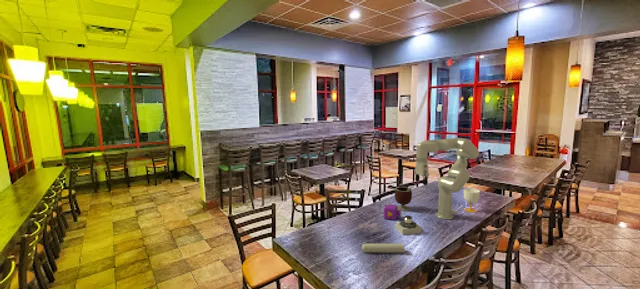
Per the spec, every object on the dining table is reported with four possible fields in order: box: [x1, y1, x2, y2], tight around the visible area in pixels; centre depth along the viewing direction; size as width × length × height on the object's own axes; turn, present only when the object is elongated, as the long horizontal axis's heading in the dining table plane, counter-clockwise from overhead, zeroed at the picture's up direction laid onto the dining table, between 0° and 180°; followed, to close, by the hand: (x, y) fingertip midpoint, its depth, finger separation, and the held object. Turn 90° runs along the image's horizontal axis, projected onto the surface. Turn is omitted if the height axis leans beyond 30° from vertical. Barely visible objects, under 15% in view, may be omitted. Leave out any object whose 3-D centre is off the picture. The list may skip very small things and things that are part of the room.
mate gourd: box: [394, 186, 415, 212], centre depth 231 cm, size 16×14×20 cm
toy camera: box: [383, 203, 403, 221], centre depth 213 cm, size 11×14×10 cm
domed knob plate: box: [395, 220, 422, 236], centre depth 191 cm, size 14×10×6 cm
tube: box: [361, 242, 406, 254], centre depth 165 cm, size 5×5×25 cm
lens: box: [403, 215, 413, 225], centre depth 191 cm, size 5×5×6 cm
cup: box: [463, 187, 481, 214], centre depth 224 cm, size 12×12×17 cm
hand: (421, 182), depth 202 cm, fingers open, 9 cm apart
